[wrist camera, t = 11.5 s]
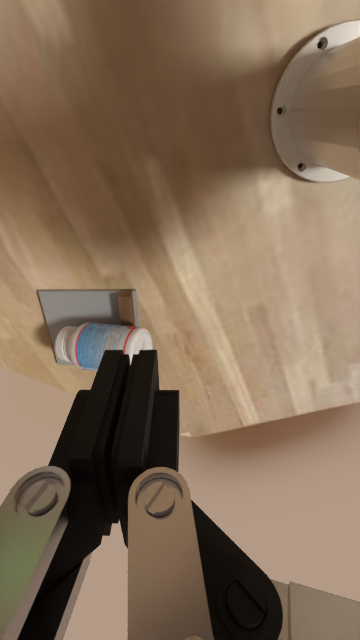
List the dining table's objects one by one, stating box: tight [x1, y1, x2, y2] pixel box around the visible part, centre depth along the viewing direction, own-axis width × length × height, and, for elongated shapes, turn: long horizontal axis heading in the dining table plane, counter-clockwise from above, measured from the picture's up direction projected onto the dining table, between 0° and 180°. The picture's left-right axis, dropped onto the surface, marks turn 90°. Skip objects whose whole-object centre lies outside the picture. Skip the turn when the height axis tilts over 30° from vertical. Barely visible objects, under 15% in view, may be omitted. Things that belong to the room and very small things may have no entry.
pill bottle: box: [55, 323, 152, 372], centre depth 41 cm, size 6×6×11 cm
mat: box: [38, 290, 139, 365], centre depth 45 cm, size 12×12×1 cm
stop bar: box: [117, 290, 136, 327], centre depth 44 cm, size 2×12×2 cm, turn 1°
